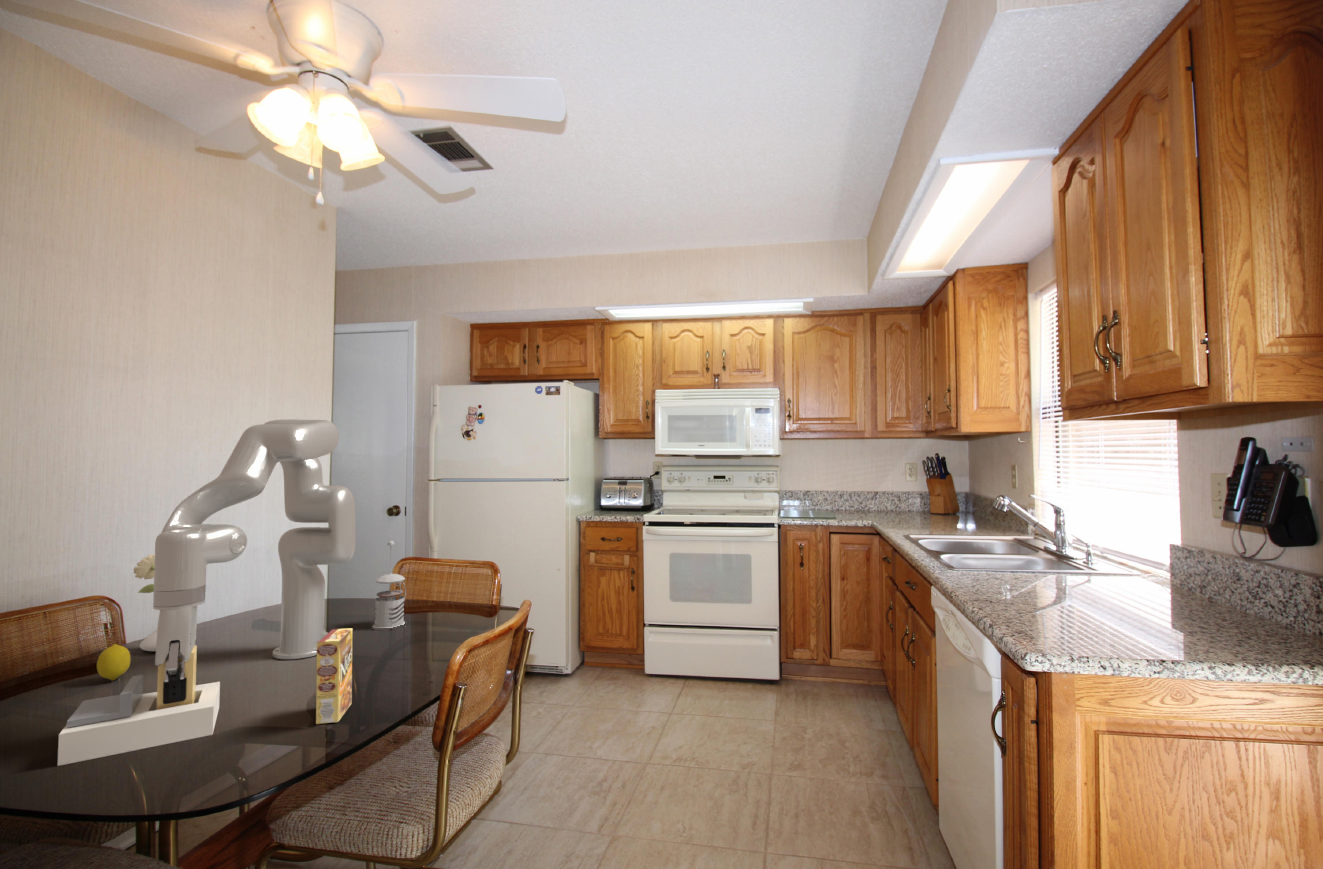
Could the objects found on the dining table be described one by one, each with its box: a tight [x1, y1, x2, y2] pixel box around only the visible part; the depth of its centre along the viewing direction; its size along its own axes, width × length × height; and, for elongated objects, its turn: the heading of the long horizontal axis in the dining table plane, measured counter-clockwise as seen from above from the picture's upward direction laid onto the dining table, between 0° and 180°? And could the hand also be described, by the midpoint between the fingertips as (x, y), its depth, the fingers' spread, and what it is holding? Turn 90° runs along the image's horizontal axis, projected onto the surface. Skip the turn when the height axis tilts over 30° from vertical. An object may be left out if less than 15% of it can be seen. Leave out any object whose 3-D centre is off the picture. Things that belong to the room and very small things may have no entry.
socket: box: [57, 681, 221, 767], centre depth 107 cm, size 20×14×5 cm
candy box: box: [315, 627, 353, 725], centre depth 115 cm, size 9×4×15 cm, turn 13°
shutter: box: [66, 674, 144, 728], centre depth 104 cm, size 8×10×4 cm
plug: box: [156, 644, 198, 710], centre depth 109 cm, size 5×5×12 cm
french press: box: [372, 540, 407, 628], centre depth 176 cm, size 10×12×25 cm
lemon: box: [96, 643, 132, 682], centre depth 132 cm, size 6×6×8 cm
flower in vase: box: [133, 554, 157, 652], centre depth 154 cm, size 13×11×25 cm
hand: (176, 695), depth 109 cm, fingers closed on plug, 5 cm apart
